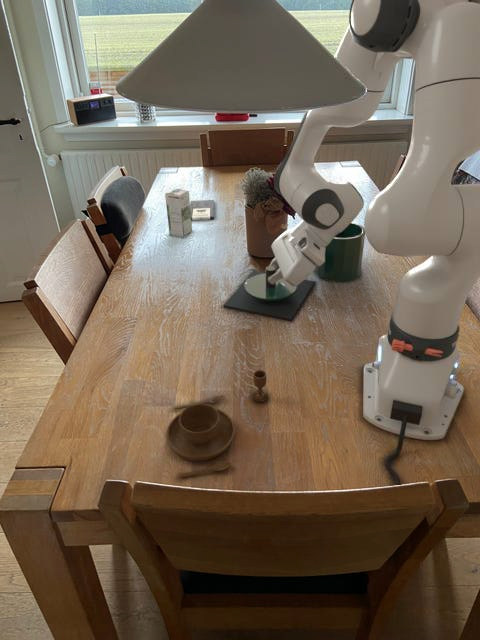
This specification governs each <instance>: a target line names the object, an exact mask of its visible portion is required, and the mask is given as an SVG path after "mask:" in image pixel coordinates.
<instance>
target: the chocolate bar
mask: <svg viewBox="0 0 480 640" xmlns="http://www.w3.org/2000/svg"><path fill="white" fill-rule="evenodd" d="M190 211H191V221H203V220H204V221H205V220H214V219H215V200H214V199H205V200H204V199H202V200H190Z"/></svg>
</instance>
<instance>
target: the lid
mask: <svg viewBox="0 0 480 640" xmlns="http://www.w3.org/2000/svg"><path fill="white" fill-rule="evenodd" d="M265 270H266V272H265V273H266V274H260V275H256V276H254V277H252V278H250V279H249V280H247V282H246V283H245V291H246V293H247V294H248V295H249V296H251V297H253V298H255V299H259V300H264V301H278V300H283V299H286V298H288V297H290V296H292V295H293V294H294V293H295V292H296V290H297V286H291V285H290V284H289V283H288V282H286V281H285V280H284V278H282V279H280V280H277V281H276V282H275V283H274V284H271V283H270V282H269V281H268V277H269V276H270V275H271V274H275V273H276V272H277V269H276V267H274V266H269V265H268V266H266V267H265Z"/></svg>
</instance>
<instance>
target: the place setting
mask: <svg viewBox="0 0 480 640" xmlns="http://www.w3.org/2000/svg"><path fill="white" fill-rule="evenodd" d="M252 377H253V378H252V379H253V384H254V386H255V387H256V388H257V391H256V392H255V393H254V394H253V395H252V400H253V401H254V402H255V403H264V402H266V401H267V400H268V394H267V393H265V392H264V390H263V388H264V387H265V386H266V385H267V372H266V371H264V370H261V369H257V370H255V371H254V372H253V376H252ZM224 400H226V396H225V395H224V394H221V395H219V396H216V397H214V398H210V399H209V400H203V401H199V402H198V401H197V402H193V403H189V404H184V405H179V406H175V407H174V410H177V409H178V410H180V409H183V410H182V411H181V412H179V413H178V414H177V415H176V416H174V417H173V418H172V419H171V421H169V424H168V425H167V428H166V434H165V435H166V441H167V444H168V446H169V448H170V449H171V451H172V452H173V453H174V454H176V455H177V456H178V457H180V458H182V459H185V460H188V461H195V462H199V461H200V462H203V461H208V460H210V459H214V458H217V457H219V456H220V455H222V454H223V453H225V452H226V451H227V450H228V449H229V448H230V446H231V444H232V443H233V442H234V441H233V440H234V438H235V433H236V430H235V427H236V426H235V423H234V421H233V419H232V418H231V416H230V415H229V414H228V413H226V412H225V411H223V410H222V409H220V408H217V407H214V406H212V405H213V404H217V403H219V402H222V401H224ZM210 404H212V405H210ZM231 465H232V462H231V461H230V460H218V461H216V462H215V463H213V464H212V465H210V466H207V467H205V468H202V469H197V470H192V471H189V472H186V473H183V474H179V476H178V477H179V478H186V477H190V476H193V475H197V474H200V473H203V472H207V471H213V472H222V471H225V470H227V469H228V468H229V467H231Z"/></svg>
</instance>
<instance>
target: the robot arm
mask: <svg viewBox="0 0 480 640" xmlns="http://www.w3.org/2000/svg"><path fill="white" fill-rule="evenodd" d="M348 13H349V15H348V24H349V25H348V27H347V29H346V31H345V34H344V35H343V37H342V40H341V41H340V44H339V46H338V49H337V51H336V53H335V55H334V58H335V57H336V58H337V59H338V60H339V61H340V62H341V63H342V64H343V65H344V66H345V67H347V68H348V69H349V70H350V72H351V73H352V74H353V75H354V76H355V77H356V78H358V79H359V80H360V81H361V82H362V83H363V84H364V85H365V86H366V88H367V92H366V94H365V95H364V96H363V97H362V98H360V99H358V100H356V101H354V102H351V103H348V104H343V105H338V106H333V107H327V108H321V109H315V110H309V111H306V110H305V111H304V114H303V116H302V119H301V121H300V124H299V125H298V128H297V130H296V133H295V135H294V137H293V140H292V142H291V145H290V147H289V149H288V151H287V153H286V155H285V156H284V157H283V159H282V161H281V162H280V164H279V165H278V167H277V169H276V171H275V173H274V175H273V187H274V190H275V191H276V192H277V193H278V195H280V196H281V197H282V199H284V200H285V201H286V203H288V205H289V206H290V207H291V208H292V209H293V210H294V212H295V213H296V214H297V215H298V216H299V218H300V219H301V220H300V221H299V222H298V224H296V226H293V227H292V228H288V229H286V230H285V231H284V232H283V233H282V234H280V235H279V236H278V237H277V238H276V239H274V241H273V242H272V244H271V245H270V247H271V250H272V252H273V255H274V258H273V259H272V260H271V261H270V264H269V265H268V266H274V267H276V273H275V274H271V275H270V276H269V277H268V281H269V282H270V283H271V284H274V283H275V282H276V281H277V280H280V279H282V278H284V280H285V281H286V282H288V283H289V284H290V285H291V286H297V285H299V284H300V283H301V282H302V281H304V280H307V278H308V277H309V276H310V275H311V274H312V273H313V272H315V268H316V265H317V266H321V265H322V264H323V263H324V262H325V250H326V248H325V247H326V246H327V245H329V244H330V242H331V241H332V239H333V238H334V237H335V236H336V235H337V234H339V233H340V232H342V231H343V230H344V229H345V228H346V227H347V226H348V225H349V224H350V223H351V222H354V220H355V219H356V218H357V217H358V215H360V213H361V211H362V210H363V208H364V207H365V202H364V199H363V196H362V195H361V193H360V192H359V190H358V189H357V188H356V187H355V186H354V184H353V183H351V182H349V181H348V180H345V181H343V182H338V183H337V182H332V181H329V180H327V179H326V178H325V177H324V176H322V174H321V173H320V172H318V170H317V168H316V166H315V157H316V154H317V152H318V151H319V149H320V146H321V144H322V143H323V141H324V138H325V136H326V134H327V132H329V129H331V128H332V127H336V128H353V127H358V126H360V125H362V124H365V123H366V122H367V121H369V120H370V119H372V117H373V116H374V115H375V114H376V113H375V112H377V110H378V108H379V106H380V104H381V101H382V99H383V96H384V94H385V92H386V90H387V87H388V84H389V81H390V79H391V76H392V73H393V71H394V69H395V67H396V65H397V64H398V63H399V62H400V61H402V60H403V59H407V60H413V61H414V64H415V79H414V99H413V101H414V102H413V119H412V130H411V137H410V138H411V139H410V144H409V149H408V152H407V154H406V157H405V160H404V162H403V164H402V166H401V168H400V170H399V171H398V173H397V175H396V176H395V177H394V179H393V180H392V181H391V182H389V184H388V185H387V186H386V187H385V188H384V189H383V190H381V191H380V192H379V193H378V194H377V195H375V197H373V199H372V200H371V202H370V203H369V205H368V207H367V209H366V212H365V215H364V222H363V227H364V228H365V238H366V239H367V242H368V243H369V244H370V246H371V247H372V249H374V250H375V251H376V252H377V254H378V253H379V254H384V255H389V256H395V257H404V258H416V257H418V258H419V257H428V258H427V259H426V260H424V261H423V262H422V263H420V264H418V265H416V266H414V267H413V268H411V269H410V270H408V271H407V272H406V273H405V274H404V275H403V276H402V278H401V279H400V281H399V283H398V288H397V293H396V297H395V298H396V299H395V304H394V310H393V312H392V313H391V316H390V319H389V322H388V326H387V327H388V328H387V329H388V330H387V333H385V334H383V335H381V336H380V337H379V339H378V345H377V351H376V357H375V361H373V362H369V363H366V364H365V365H364V367H363V371H362V373H363V374H362V377H363V379H362V386H363V387H362V392H363V393H362V394H363V395H362V416H363V418H364V419H365V420H366V421H367V422H369V423H370V424H372V425H373V426H375V427H377V428H378V429H381V430H384V431H386V432H389V433H392V434H395V435H398V440H397V446H396V449H395V450H394V452H393V453H391V454H390V455H388V456H387V457H386V458H385V460H384V467H385V469H386V471H387V472H388V473H389V474H390V475H391V476H392V478H393V481H394V486H395V485H400V486H401V479H400V476H399V475H398V474H397V472H396V471H395V470H394V469H393V468H392V466H391V465H390V464H391V461H393V460H394V459H396V458H397V457H398V456H399V455H400V454H401V452H402V450H403V445H404V439H405V437H406V438H410V439H415V440H423V441H437V440H443V439H444V438H445V437H446V434H447V433H448V430H449V427H450V425H451V423H452V421H453V418H454V416H455V414H456V412H457V409H458V406H459V404H460V402H461V400H462V397H463V395H464V391H465V388H464V386H463V385H462V384H461V383H460V382H458V381H457V380H455V379H456V377H459V376H460V373H461V368H459V365H460V361H461V358H462V353H461V352H460V351H459V349H458V348H457V347H456V346H457V343H458V341H459V337H460V334H459V333H460V325H459V323H460V320H461V317H462V313H463V310H464V307H465V304H466V301H467V299H468V296H469V294H470V293H471V291H472V288H473V287H474V286H475V284H476V283H477V281H478V280H479V279H480V183H466V184H465V183H464V184H463V183H462V184H452V180H453V176H454V172H455V170H456V168H457V167H458V165H459V164H460V163H461V162H463V161H465V160H466V159H468V158H470V157H472V156H473V155H475V154H477V153H478V152H479V151H480V1H479V0H351V3H350V8H349V12H348ZM278 267H279V268H278ZM264 273H266V269H265V270H264Z"/></svg>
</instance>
